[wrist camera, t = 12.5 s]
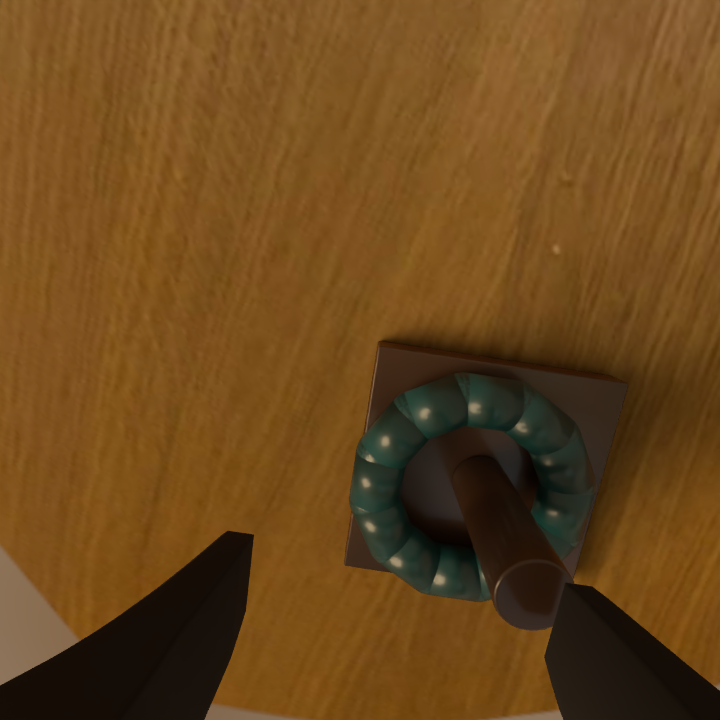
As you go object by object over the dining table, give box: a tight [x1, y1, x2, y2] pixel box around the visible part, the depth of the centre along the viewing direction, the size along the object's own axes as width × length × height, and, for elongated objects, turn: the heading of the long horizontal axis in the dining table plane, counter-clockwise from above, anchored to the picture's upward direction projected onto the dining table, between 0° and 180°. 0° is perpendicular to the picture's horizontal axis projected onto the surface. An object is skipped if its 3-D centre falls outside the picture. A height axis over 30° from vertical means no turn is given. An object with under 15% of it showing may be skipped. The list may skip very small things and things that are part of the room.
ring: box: [349, 372, 596, 602], centre depth 16 cm, size 8×8×2 cm
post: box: [344, 341, 628, 631], centre depth 14 cm, size 9×9×7 cm
